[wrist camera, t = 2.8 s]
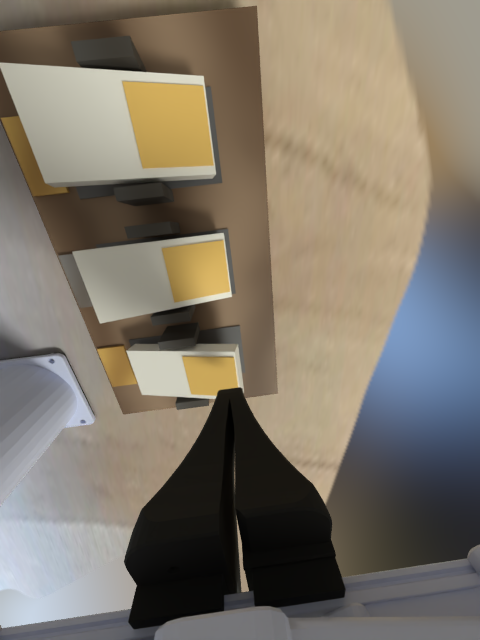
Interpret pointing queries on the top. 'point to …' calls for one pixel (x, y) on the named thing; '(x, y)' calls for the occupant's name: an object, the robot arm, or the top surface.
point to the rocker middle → (154, 275)
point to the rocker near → (112, 124)
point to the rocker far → (186, 369)
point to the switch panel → (167, 189)
